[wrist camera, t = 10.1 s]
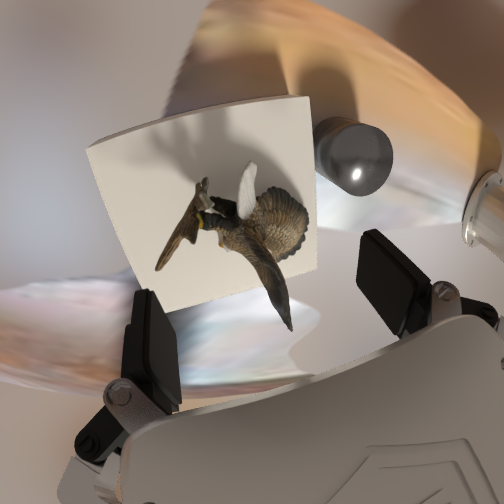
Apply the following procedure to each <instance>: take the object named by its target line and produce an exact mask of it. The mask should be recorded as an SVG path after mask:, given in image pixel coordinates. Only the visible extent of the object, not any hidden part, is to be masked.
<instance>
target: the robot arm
mask: <svg viewBox="0 0 504 504" xmlns="http://www.w3.org/2000/svg"><path fill="white" fill-rule="evenodd" d="M462 238H463V241H464V242H465V243H466V244H467V245H468V246H469V247H476V246H478V245H479V244H482V245H484V246H485V247H486V248H487V249H488V250H490V251H491V252H492V253H493V254H495V255H496V256H497V257H498V258H499V259H500V260H501V261H503V262H504V181H503V178H502V176H501V175H500V174H499V173H497V172H496V171H489V172H488V173H486V174H485V175H484V176H483V177H482V178H481V180H480V181H479V182H478V184H477V185H476V187H475V189H474V191H473V193H472V195H471V197H470V200H469V202H468V205H467V208H466V211H465V215H464V218H463V224H462ZM430 281H431V280H430V279H429V278H428V277H427V276H426V275H425V274H424V273H423V272H422V271H421V270H420V269H419V268H418V267H417V266H416V265H415V264H414V263H413V262H412V261H411V260H410V259H409V258H408V257H407V256H406V255H405V254H404V253H402V251H400V250H399V249H398V248H397V247H396V246H395V245H394V244H393V243H392V242H391V241H390V240H388V239H387V238H386V237H385V236H384V235H383V234H382V233H381V232H379V231H378V230H377V229H371V230H368V231H365V232H364V233H363V235H362V236H361V239H360V249H359V259H358V268H357V275H356V283H357V286H358V287H359V289H360V290H361V291H362V293H363V294H364V295H365V296H366V298H367V299H368V300H369V302H370V303H371V304H372V306H373V307H374V308H375V310H376V311H377V312H378V314H379V315H380V316H381V318H382V319H383V320H384V322H385V323H386V325H387V326H388V327H389V329H390V330H391V332H392V333H393V334H394V335H397V336H398V337H399V339H400V340H399V341H397V342H394V343H392V344H390V345H388V346H386V347H384V348H382V349H380V350H377V351H375V352H373V353H371V354H368V355H366V356H364V357H361V358H359V359H357V360H354V361H352V362H349V363H347V364H344V365H342V366H339V367H337V368H334V369H332V370H329V371H326V372H324V373H321V374H318V375H315V376H313V377H310V378H307V379H304V380H301V381H298V382H295V383H292V384H289V385H285V386H282V387H279V388H276V389H272V390H269V391H265V392H262V393H258V394H255V395H251V396H247V397H243V398H240V399H235V400H231V401H228V402H223V403H219V404H215V405H210V406H205V407H201V408H196V409H192V410H187V411H183V412H179V413H175V414H172V412H177V411H179V406H178V404H182V397H181V388H180V377H179V366H178V353H177V339H176V334H175V331H174V329H173V327H172V325H171V323H170V322H169V320H168V318H167V316H166V314H165V312H164V310H163V308H162V306H161V304H160V302H159V300H158V298H157V296H156V294H155V292H154V291H153V290H152V291H150V290H149V289H148V288H146V289H142V290H138V291H135V294H134V302H133V309H132V318H131V324H128V325H127V326H126V328H125V335H124V344H123V355H122V368H121V378H118V379H115V380H113V381H111V382H110V383H109V384H108V385H107V386H106V388H105V390H104V393H103V401H104V404H105V405H104V407H103V408H102V409H101V410H100V411H99V412H98V413H97V414H96V415H95V416H94V417H93V418H92V419H91V420H90V422H89V423H88V424H87V425H86V426H85V427H84V428H83V429H82V430H81V431H80V432H79V433H78V435H77V436H76V439H75V445H74V447H75V451H76V455H75V457H73V456H72V457H71V459H70V461H69V463H68V465H67V468H66V470H65V472H64V474H63V477H62V479H61V481H60V483H59V486H58V489H57V496H58V499H59V501H60V502H61V503H62V504H122V503H123V504H504V317H503V316H500V318H499V317H498V313H497V311H496V310H495V308H493V306H491V305H490V304H488V303H484V302H480V301H476V300H472V299H468V298H464V297H460V293H459V291H458V289H457V288H456V287H455V286H454V285H453V284H451V283H449V282H446V281H438V282H436V283H434V284H433V285H432V284H431V283H430ZM119 473H120V485H121V495H122V503H121V502H120V501H118V499H117V497H116V495H115V487H116V484H117V482H118V481H117V480H116V478H117V476H118V474H119Z"/></svg>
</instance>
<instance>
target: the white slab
mask: <svg viewBox="0 0 504 504" xmlns="http://www.w3.org/2000/svg"><path fill="white" fill-rule="evenodd" d="M86 152H87V155H88V158H89V161H90V164H91V168H92V171H93V173H94V176H95V179H96V182H97V185H98V188H99V191H100V193H101V196H102V199H103V201H104V204H105V206H106V209H107V212H108V214H109V217H110V219H111V221H112V224H113V226H114V229H115V231H116V233H117V236H118V238H119V240H120V243H121V245H122V247H123V249H124V251H125V254H126V256H127V258H128V260H129V262H130V265H131V267H132V269H133V271H134V273H135V275H136V277H137V279H138V281H139V283H140V285H141V287H142V289H146V288H148V289H149V290H150V291H152V290H153V291H154V292H155V294H156V296H157V298H158V300H159V302H160V304H161V306H162V308H163V310H164V312H165V313H167V312H171V311H175V310H178V309H182V308H186V307H190V306H193V305H197V304H201V303H204V302H208V301H212V300H215V299H219V298H222V297H226V296H229V295H233V294H236V293H240V292H243V291H247V290H250V289H253V288H257V287H260V286H264V285H263V284H262V282H261V281H260V278H259V276H258V274H257V272H256V270H255V269H254V267H253V266H252V265H251V263H250V262H249V261H248V260H247V259H246V258H245V257H244V256H243V255H242V254H240V253H237V252H235V251H232V252H229V253H228V252H227V251H226V250H225V249H224V248H221V247H220V246H219V244H221V243H223V240H222V237H223V235H222V234H221V233H219V232H217V231H215V230H211V231H205V230H203V229H199V231H198V235H197V240H196V243H195V245H193V244H191V243H190V241H189V240H187V239H185V238H184V239H182V241H181V242H180V244H179V247H178V248H177V250H176V251H175V252H174V253H173V255H172V257H171V258H170V260H169V261H168V262H167V264H166V265H165V266H164V267H163V268H162V270H160V271H158V272H157V271H155V266H156V264H157V262H158V259H159V257H160V255H161V253H162V251H163V250H164V248H165V246H166V244H167V242H168V240H169V238H170V237H171V235H172V233H173V231H174V229H175V228H176V226H177V225H178V223H179V222H180V220H181V219H182V217H183V215H184V214H185V211H186V210H187V207H188V206H189V204H190V202H191V201H192V199H193V197H194V195H195V185H196V184H197V183H198V182H200V183H201V181H202V179H203V178H204V177H208V179H209V187H208V190H207V195H208V196H209V197H210V196H214V197H221V198H222V199H228V200H232V201H235V202H236V194H237V190H238V183H239V175H240V173H241V172H242V170H243V169H244V168H245V166H246V165H247V164H248V162H249V161H252V162H253V163H254V164H256V165H257V172H256V176H255V181H254V189H255V197H257V196H262V193H264V192H267V189H268V188H269V187H270V188H271V187H272V186H275V187H276V188H282V189H285V190H286V191H287V192H288V193H289V194H290V196H291V197H294V198H295V200H297V201H298V203H301V204H302V205H303V206H304V207H305V208H306V209H307V212H308V213H309V215H308V216H309V224H308V226H307V228H308V231H307V232H305V233H304V234H305V237H306V239H305V241H304V242H302V245H301V249H300V250H297V251H296V254H295V255H293V256H290V255H289V257H288V258H287V259H286V260H281V261H280V262H279V263H277V264H278V266H279V268H280V269H281V272H282V274H283V276H284V279H286V278H290V277H293V276H296V275H300V274H303V273H306V272H309V271H312V270H315V269H317V212H316V183H315V163H314V147H313V134H312V121H311V110H310V100H309V96H300V95H281V96H272V97H264V98H256V99H250V100H243V101H237V102H231V103H226V104H221V105H215V106H211V107H206V108H201V109H197V110H193V111H188V112H184V113H180V114H176V115H173V116H169V117H165V118H162V119H158V120H155V121H151V122H148V123H145V124H142V125H139V126H136V127H132V128H130V129H127V130H124V131H121V132H118V133H115V134H112V135H110V136H107V137H104V138H102V139H99V140H98V141H96V142H95V143H93V144H92V145H90V146H89V147H88V148H86ZM201 186H202V185H201ZM205 212H209V213H217V214H220V213H219V212H217V211H215V210H214V209H212V208H210V209H207V210H205ZM221 215H222V216H223V217H225V216H224V215H223V214H221ZM267 249H268V248H267ZM268 250H269V249H268ZM269 252H271V251H270V250H269ZM271 254H272V252H271ZM272 256H273V255H272Z"/></svg>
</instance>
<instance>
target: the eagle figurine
mask: <svg viewBox="0 0 504 504" xmlns="http://www.w3.org/2000/svg"><path fill="white" fill-rule="evenodd" d="M256 172H257V165H256V164H254V163H253V162H252V161H249V162H248V164H247V165H246V166H245V168H244V169H243V170H242V172H241V173H240V175H239V183H238V190H237V194H236V202H235V201H232V200H228V199H222V198H221V197H214V196H210V197H209V196H208V195H207V190H208V187H209V179H208V177H204V178H203V179H202V181H201V183H200V182H198V183H197V184H196V185H195V195H194V197H193V199H192V201H191V202H190V204H189V206H188V207H187V210H186V211H185V214H184V215H183V217H182V219H181V220H180V222H179V223H178V225H177V226H176V228H175V229H174V231H173V233H172V235H171V237H170V238H169V240H168V242H167V244H166V246H165V248H164V250H163V251H162V253H161V255H160V257H159V259H158V262H157V264H156V266H155V271H157V272H158V271H160V270H162V268H163V267H164V266H165V265H166V264H167V262H168V261H169V260H170V258H171V257H172V255H173V253H174V252H175V251H176V250H177V248H178V247H179V244H180V242H181V241H182V239H184V238H185V239H187V240H189V241H190V243H191V244H193V245H195V243H196V240H197V235H198V231H199V229H203V230H205V231H211V230H215V231H217V232H219V233H221V234H222V235H223V237H222V240H223V243H221V244H219V246H220V247H221V248H224V249H225V250H226V251H227V252H228V253H229V252H232V251H235V252H237V253H240V254H242V255H243V256H244V257H245V258H246V259H247V260H248V261H249V262H250V263H251V265H252V266H253V267H254V269H255V270H256V272H257V274H258V276H259V278H260V281H261V282H262V284H263V285H264V287H265V288H266V290H267V292H268V295H269V298H270V300H271V303H272V305H273V306H274V308H275V309H276V310H277V311H278V313H279V315H280V316H281V318H282V320H283V322H284V323H285V324H286V325H287V327H288V329H289V330H290V331H291V332H292V331H293V329H292V328H293V327H292V323H291V316H290V306H289V295H288V290H287V286H286V284H285V279H284V276H283V274H282V272H281V269H280V268H279V266H278V264H277V263H279V262H280V261H281V260H286V259H287V258H288V257H289V255H290V256H293V255H295V254H296V251H297V250H300V249H301V245H302V242H304V241H305V239H306V237H305V234H304V233H305V232H307V231H308V228H307V226H308V224H309V216H308V215H309V213H308V212H307V209H306V208H305V207H304V206H303V205H302V204H301V203H298V201H297V200H295V198H294V197H291V196H290V194H289V193H288V192H287V191H286V190H285V189H282V188H276V187H275V186H272V187H271V188H270V187H269V188H268V189H267V192H264V193H262V196H257V197H255V189H254V181H255V176H256ZM201 185H202V186H201ZM210 208H212V209H214V210H215V211H217V212H219V213H220V214H217V213H209V212H205V210H207V209H210ZM221 214H223V215H224V216H225V217H223V216H222V215H221ZM267 248H268V249H269V250H270V251H271V252H272V254H271V252H269V250H268V249H267ZM272 255H273V256H272Z"/></svg>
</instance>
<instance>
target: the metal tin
mask: <svg viewBox="0 0 504 504" xmlns="http://www.w3.org/2000/svg"><path fill="white" fill-rule="evenodd" d="M312 134H313V147H314V163H315V170H316V171H317V172H318V173H319V174H321V175H322V176H324V177H325V178H327V179H328V180H330V181H331V182H333V183H334V184H336V185H337V186H339V187H340V188H341V189H343V190H344V191H346V192H347V193H349V194H351V195H354V196H366V195H369V194H372V193H373V192H375V191H377V190H378V189H379V188H380V187H381V186H382V185H383V184H384V183H385V181H386V180H387V178H388V176H389V174H390V171H391V168H392V164H393V149H392V145H391V142H390V140H389V138H388V137H387V135H386V134H385V133H384V132H383V131H382V130H380V129H378V128H376V127H373V126H370V125H367V124H363V123H360V122H356V121H353V120H349V119H345V118H341V117H332V118H328V119H326V120H324V121H322V122H321V123H319V124H318V125H317V126H316V128H315V129H314V130H313V132H312Z"/></svg>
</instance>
